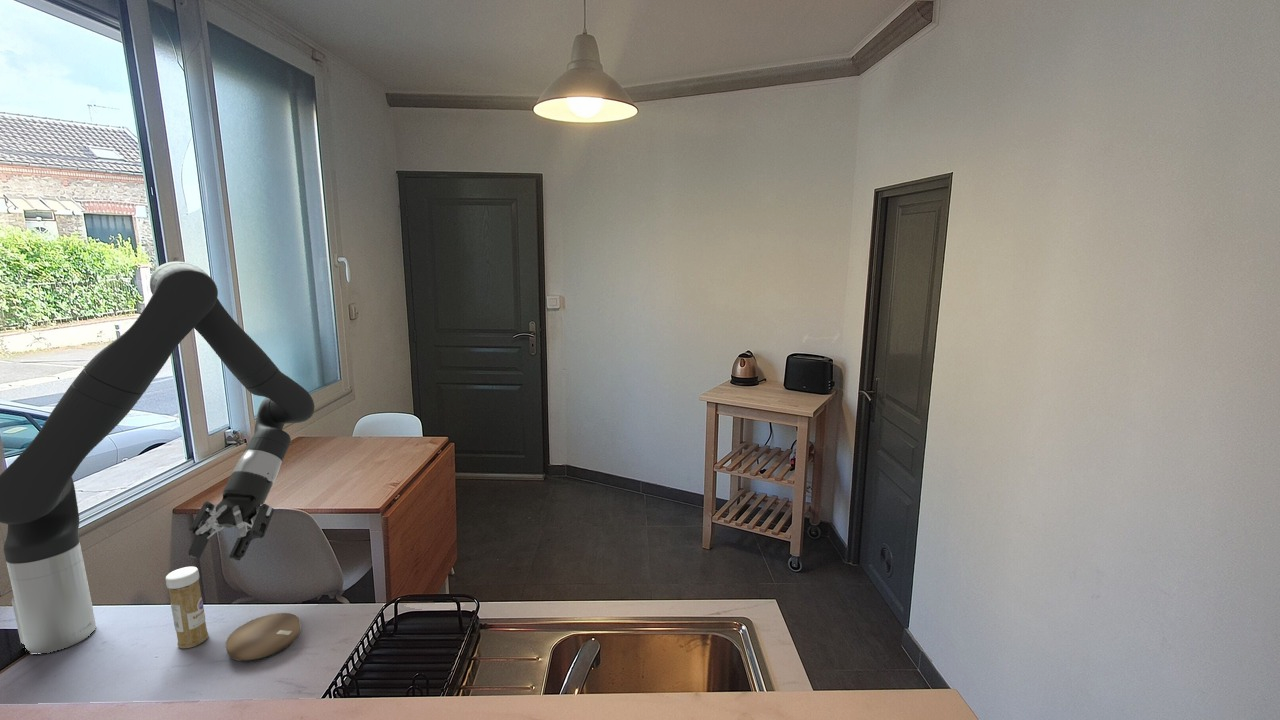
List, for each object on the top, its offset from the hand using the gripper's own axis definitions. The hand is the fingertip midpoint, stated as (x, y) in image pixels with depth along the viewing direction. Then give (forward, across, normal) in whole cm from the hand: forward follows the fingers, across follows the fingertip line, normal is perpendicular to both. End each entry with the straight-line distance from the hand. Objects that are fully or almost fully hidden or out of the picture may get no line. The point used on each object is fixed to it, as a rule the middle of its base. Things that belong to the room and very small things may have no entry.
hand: (213, 558), depth 109 cm
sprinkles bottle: (+14, 0, +4) cm, 14 cm away
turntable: (+12, +14, +4) cm, 19 cm away
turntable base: (+13, +14, +5) cm, 20 cm away
